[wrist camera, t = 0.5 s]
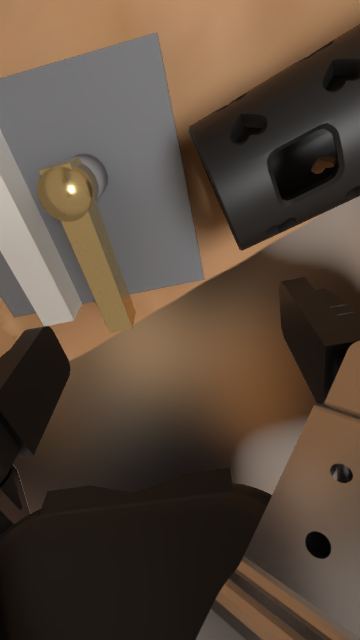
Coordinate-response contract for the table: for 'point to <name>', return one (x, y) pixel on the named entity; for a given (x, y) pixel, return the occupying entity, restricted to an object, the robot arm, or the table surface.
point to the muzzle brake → (287, 144)
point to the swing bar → (87, 237)
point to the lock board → (127, 147)
